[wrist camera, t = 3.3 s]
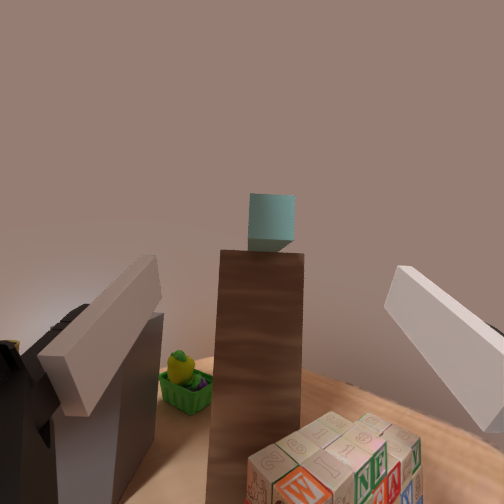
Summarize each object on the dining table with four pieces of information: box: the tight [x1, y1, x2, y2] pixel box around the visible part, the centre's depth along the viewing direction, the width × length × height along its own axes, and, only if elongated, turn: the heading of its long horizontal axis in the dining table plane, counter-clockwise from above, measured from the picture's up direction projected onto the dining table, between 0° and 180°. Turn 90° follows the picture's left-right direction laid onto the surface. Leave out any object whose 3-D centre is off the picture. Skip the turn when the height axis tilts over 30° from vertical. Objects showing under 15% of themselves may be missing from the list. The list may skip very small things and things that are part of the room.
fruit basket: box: [159, 350, 213, 415], centre depth 49 cm, size 11×9×11 cm
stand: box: [205, 250, 304, 504], centre depth 33 cm, size 14×10×30 cm
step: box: [50, 313, 164, 504], centre depth 33 cm, size 12×9×20 cm
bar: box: [248, 194, 295, 252], centre depth 31 cm, size 26×4×4 cm, turn 1°
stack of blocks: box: [245, 411, 423, 504], centre depth 23 cm, size 21×6×12 cm, turn 128°
